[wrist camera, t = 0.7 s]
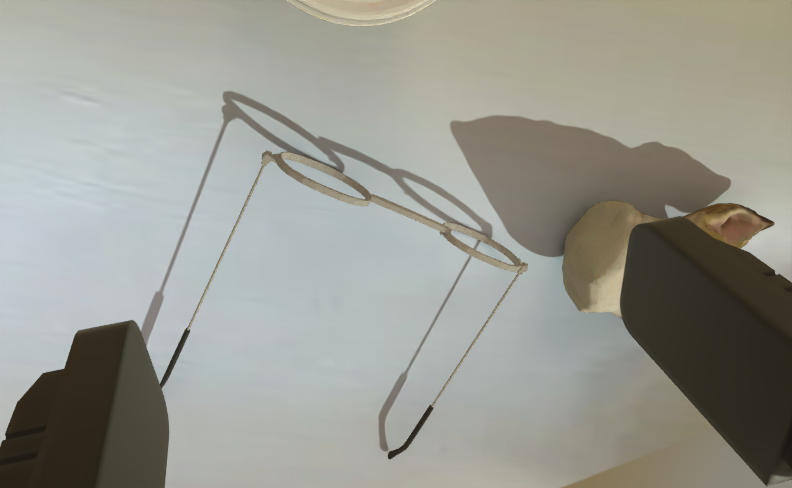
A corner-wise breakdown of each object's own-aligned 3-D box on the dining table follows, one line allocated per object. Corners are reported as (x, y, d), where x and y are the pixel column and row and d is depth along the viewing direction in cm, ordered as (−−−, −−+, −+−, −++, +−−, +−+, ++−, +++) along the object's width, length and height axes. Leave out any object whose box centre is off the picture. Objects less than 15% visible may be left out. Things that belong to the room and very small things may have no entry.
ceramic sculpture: (653, 203, 31) (854, 252, 37) (571, 151, 39) (747, 198, 44) (570, 373, 35) (762, 397, 40) (509, 296, 43) (678, 324, 48)
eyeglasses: (521, 246, 42) (543, 275, 38) (390, 450, 48) (399, 491, 44) (267, 133, 35) (266, 155, 32) (154, 384, 41) (142, 425, 38)
